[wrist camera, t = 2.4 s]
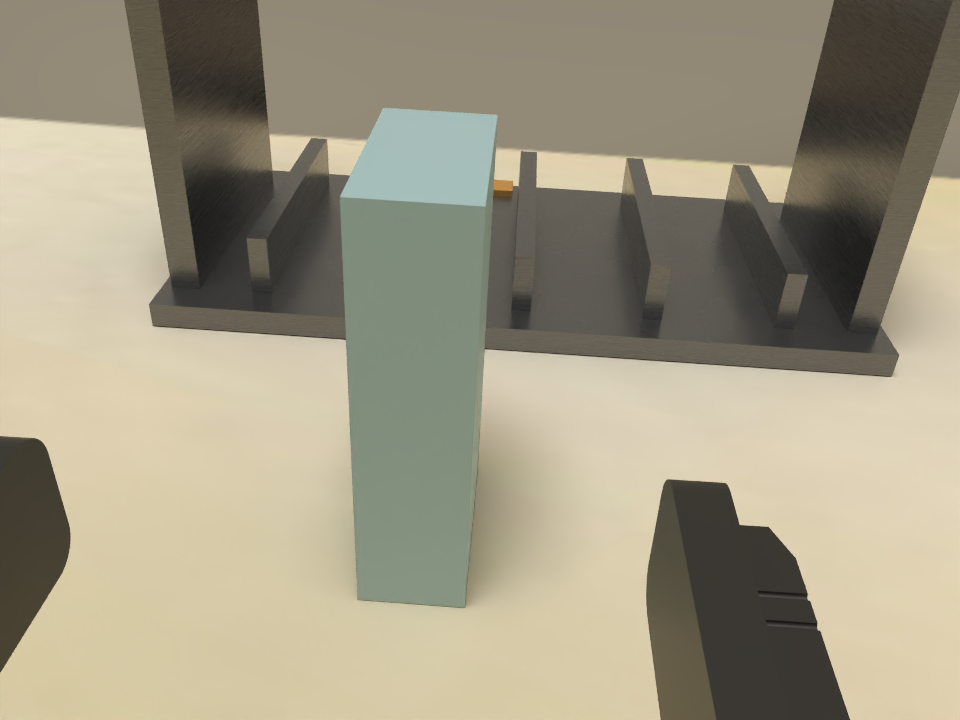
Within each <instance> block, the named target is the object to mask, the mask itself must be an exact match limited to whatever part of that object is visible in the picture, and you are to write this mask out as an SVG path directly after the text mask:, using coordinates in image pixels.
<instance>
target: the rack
mask: <svg viewBox="0 0 960 720" xmlns="http://www.w3.org/2000/svg"><path fill="white" fill-rule="evenodd" d="M124 1H125V7H126V13H127V19H128V25H129V31H130V37H131V43H132V49H133V55H134V61H135V67H136V73H137V79H138V85H139V92H140V97H141V103H142V110H143V116H144V122H145V128H146V134H147V140H148V146H149V152H150V158H151V164H152V170H153V176H154V182H155V188H156V194H157V201H158V207H159V213H160V219H161V225H162V231H163V237H164V243H165V249H166V255H167V261H168V267H169V273H170V277H169V279H168V280H167V281H166V283H165V284H164V285H163V287H162V288H161V289H160V290H159V292H158V293H157V294H156V296H155V297H154V298H153V300H152V301H151V302H150V304H149V307H150V312H151V318H152V323H153V326H167V327H182V328H196V329H211V330H225V331H240V332H254V333H269V334H284V335H298V336H313V337H327V338H342V339H346V326H345V304H344V281H343V259H342V236H341V214H340V195H341V193H342V191H343V189H344V187H345V185H346V183H347V181H348V179H349V177H350V176H348V175H333V174H329V168H328V149H327V139H316V138H311V140H310V141H309V143H308V144H307V146H306V148H305V149H304V151H303V152H302V154H301V155H300V157H299V158H298V160H297V161H296V163H295V164H294V166H293V167H292V169H291V171H290V172H286V171H272V162H271V150H270V139H269V128H268V116H267V105H266V94H265V82H264V71H263V59H262V49H261V37H260V27H259V14H258V3H257V0H124ZM959 91H960V0H834V3H833V7H832V11H831V15H830V19H829V23H828V27H827V31H826V35H825V39H824V43H823V47H822V52H821V55H820V60H819V63H818V67H817V72H816V76H815V80H814V84H813V88H812V92H811V96H810V100H809V104H808V108H807V112H806V116H805V120H804V124H803V128H802V132H801V136H800V140H799V144H798V148H797V152H796V157H795V160H794V164H793V168H792V172H791V176H790V180H789V184H788V189H787V193H786V197H785V201H784V203H770V202H768V200H767V198H766V196H765V194H764V193H763V191H762V189H761V187H760V185H759V183H758V182H757V180H756V178H755V176H754V174H753V172H752V171H751V169H750V167H749V166H745V165H733V168H732V172H731V177H730V182H729V187H728V192H727V196H726V200H723V199H708V198H692V197H676V196H661V195H652V192H651V189H650V185H649V181H648V178H647V174H646V170H645V166H644V163H643V159H634V158H627V160H626V167H625V174H624V182H623V189H622V193H614V192H598V191H583V190H567V189H551V188H536V168H537V152H523V151H521V160H520V174H519V186H513V181H503V180H494V189H493V206H492V224H491V242H490V260H489V278H488V295H487V313H486V331H485V348H488V349H502V350H517V351H531V352H546V353H560V354H575V355H590V356H604V357H619V358H633V359H648V360H662V361H677V362H692V363H706V364H721V365H735V366H750V367H764V368H779V369H794V370H808V371H823V372H837V373H852V374H866V375H881V376H892V374H893V371H894V368H895V366H896V363H897V360H898V357H899V354H898V353H897V351H896V349H895V348H894V346H893V345H892V343H891V341H890V340H889V338H888V337H887V335H886V333H885V332H884V330H883V329H882V327H881V326H880V324H881V321H882V318H883V316H884V313H885V310H886V307H887V304H888V301H889V298H890V295H891V292H892V289H893V286H894V283H895V280H896V277H897V274H898V271H899V268H900V265H901V262H902V259H903V256H904V254H905V251H906V248H907V245H908V242H909V239H910V236H911V233H912V230H913V227H914V224H915V221H916V218H917V215H918V212H919V209H920V206H921V203H922V200H923V197H924V195H925V192H926V189H927V186H928V183H929V180H930V177H931V174H932V170H933V168H934V165H935V162H936V159H937V156H938V153H939V150H940V147H941V144H942V141H943V138H944V135H945V133H946V129H947V127H948V124H949V121H950V118H951V115H952V112H953V109H954V106H955V103H956V100H957V97H958V94H959Z"/></svg>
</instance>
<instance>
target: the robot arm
mask: <svg viewBox="0 0 960 720" xmlns="http://www.w3.org/2000/svg"><path fill="white" fill-rule="evenodd" d="M69 549H70V527H69V523H68V519H67V516H66V513H65V509H64V506H63V502H62V499H61V495H60V492H59V489H58V485H57V482H56V478H55V475H54V471H53V468H52V464H51V461H50V458H49V454H48V451H47V449H46V447H45V445H44V444H43V443H42V442H41V441H40V440H38V439H35V438H21V437H5V436H0V672H1V671H2V669H3V668H4V666H5V664H6V663H7V661H8V659H9V658H10V656H11V655H12V653H13V651H14V650H15V648H16V647H17V645H18V643H19V642H20V640H21V639H22V637H23V635H24V634H25V632H26V630H27V629H28V627H29V626H30V624H31V622H32V621H33V619H34V618H35V616H36V614H37V613H38V611H39V610H40V608H41V606H42V605H43V603H44V601H45V600H46V598H47V597H48V595H49V593H50V592H51V590H52V589H53V587H54V585H55V584H56V582H57V581H58V579H59V577H60V576H61V574H62V572H63V570H64V567H65V565H66V562H67V558H68V554H69ZM807 595H808V593H807V590H806V587H805V584H804V581H803V579H802V576H801V573H800V570H799V567H798V564H797V561H796V558H795V557H794V556H793V555H792V554H791V552H790V551H789V550H788V549H787V548H786V547H785V545H784V544H783V543H782V542H781V541H780V540H779V539H778V537H777V536H776V535H775V534H774V533H773V532H772V530H771V529H770V528H769V527H760V526H744V525H739V521H738V518H737V514H736V510H735V507H734V503H733V499H732V496H731V492H730V489H729V487H728V485H727V484H726V483H717V482H701V481H685V480H669V479H668V480H666V481H665V483H664V486H663V490H662V495H661V500H660V506H659V511H658V516H657V522H656V527H655V533H654V538H653V543H652V549H651V554H650V560H649V565H648V573H647V590H646V601H647V616H648V624H649V632H650V640H651V647H652V655H653V663H654V670H655V678H656V686H657V693H658V701H659V709H660V717H661V720H850V718H849V716H848V713H847V710H846V707H845V704H844V701H843V698H842V695H841V692H840V689H839V686H838V683H837V680H836V677H835V674H834V671H833V668H832V665H831V662H830V659H829V656H828V653H827V650H826V647H825V644H824V641H823V638H822V635H821V632H820V631H818V630H817V620H816V617H815V614H814V611H813V608H812V605H811V602H810V601H808V600H807Z"/></svg>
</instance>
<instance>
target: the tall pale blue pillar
mask: <svg viewBox="0 0 960 720" xmlns="http://www.w3.org/2000/svg"><path fill="white" fill-rule="evenodd" d="M496 135H497V115H488V114H472V113H455V112H440V111H424V110H409V109H393V108H383V110H382V112H381V114H380V116H379V118H378V120H377V122H376V124H375V126H374V128H373V130H372V132H371V134H370V136H369V138H368V140H367V142H366V144H365V147H364V149H363V151H362V153H361V155H360V157H359V159H358V161H357V163H356V165H355V167H354V169H353V171H352V173H351V175H350V177H349V179H348V181H347V183H346V185H345V187H344V189H343V191H342V193H341V195H340V214H341V236H342V259H343V281H344V304H345V326H346V349H347V371H348V393H349V416H350V438H351V461H352V483H353V506H354V528H355V551H356V573H357V596H358V600H370V601H383V602H396V603H409V604H422V605H435V606H448V607H461V608H465V600H466V589H467V578H468V568H469V557H470V546H471V536H472V525H473V514H474V503H475V493H476V482H477V471H478V455H479V438H480V420H481V402H482V384H483V366H484V349H485V331H486V313H487V295H488V278H489V260H490V242H491V224H492V206H493V189H494V171H495V153H496Z"/></svg>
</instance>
